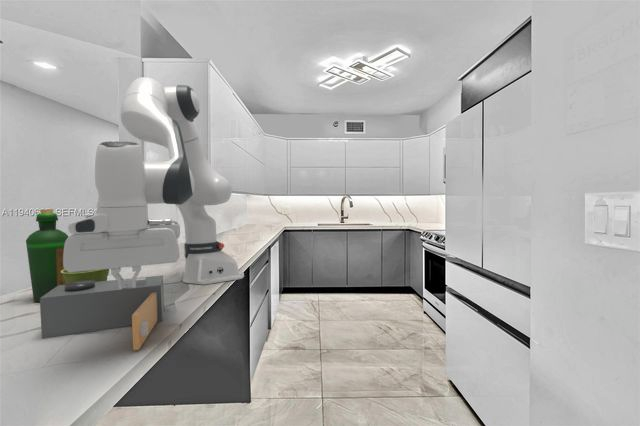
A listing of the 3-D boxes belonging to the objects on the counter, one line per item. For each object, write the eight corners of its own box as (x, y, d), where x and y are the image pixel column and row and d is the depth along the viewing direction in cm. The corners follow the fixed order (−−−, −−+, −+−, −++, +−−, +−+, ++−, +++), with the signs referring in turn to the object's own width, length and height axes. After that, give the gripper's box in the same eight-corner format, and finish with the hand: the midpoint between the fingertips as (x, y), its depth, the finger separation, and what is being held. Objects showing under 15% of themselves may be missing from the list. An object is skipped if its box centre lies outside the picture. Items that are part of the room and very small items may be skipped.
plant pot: (59, 307, 95) (57, 268, 94) (107, 298, 103) (105, 262, 102) (66, 317, 86) (64, 274, 86) (118, 306, 95) (116, 267, 94)
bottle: (79, 296, 105) (74, 208, 104) (37, 306, 96) (32, 210, 95) (63, 292, 111) (59, 208, 109) (22, 300, 101) (17, 210, 100)
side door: (153, 320, 81) (152, 292, 81) (163, 319, 82) (162, 291, 82) (133, 350, 65) (131, 315, 65) (145, 348, 66) (144, 314, 65)
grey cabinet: (164, 306, 93) (162, 271, 93) (162, 321, 82) (160, 280, 82) (60, 320, 84) (58, 280, 83) (41, 338, 73) (39, 292, 72)
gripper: (179, 217, 74) (182, 278, 75) (68, 222, 66) (72, 290, 67) (179, 219, 68) (182, 285, 69) (57, 225, 60) (62, 299, 61)
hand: (127, 288), depth 68 cm, fingers closed
